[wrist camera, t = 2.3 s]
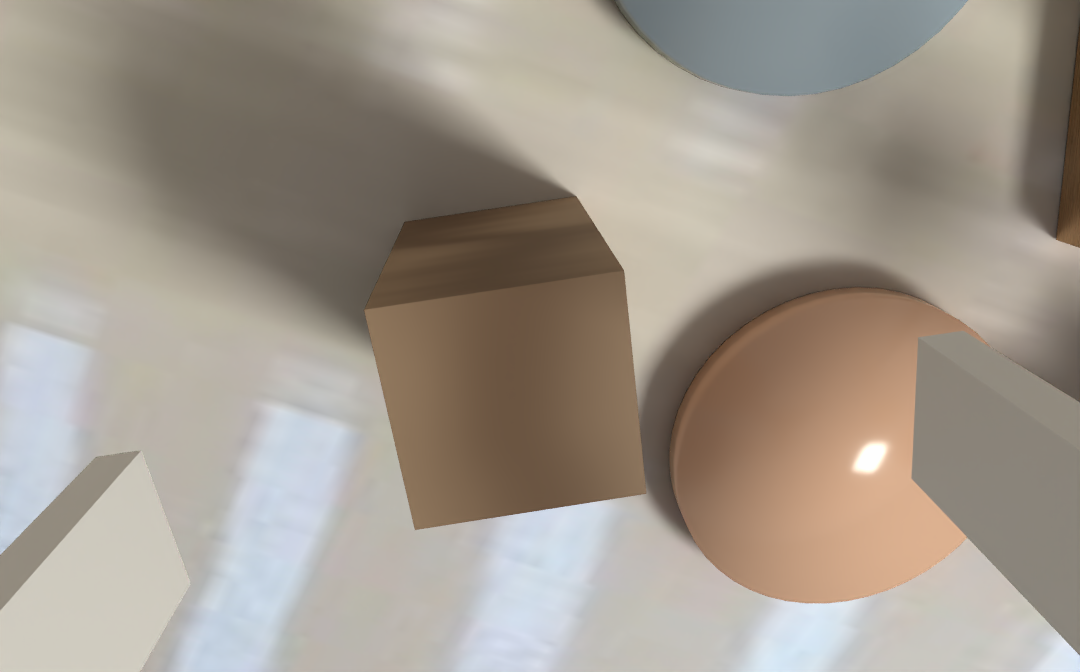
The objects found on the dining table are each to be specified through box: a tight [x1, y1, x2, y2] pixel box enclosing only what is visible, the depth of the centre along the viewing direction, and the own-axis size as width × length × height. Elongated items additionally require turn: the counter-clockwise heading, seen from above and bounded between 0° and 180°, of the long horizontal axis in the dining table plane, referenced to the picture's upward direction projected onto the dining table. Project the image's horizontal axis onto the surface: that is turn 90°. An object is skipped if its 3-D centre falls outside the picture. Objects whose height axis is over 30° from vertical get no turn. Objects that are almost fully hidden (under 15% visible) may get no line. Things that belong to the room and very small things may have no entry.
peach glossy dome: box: [669, 287, 990, 603], centre depth 25 cm, size 11×11×1 cm
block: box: [364, 196, 646, 530], centre depth 19 cm, size 5×5×8 cm
